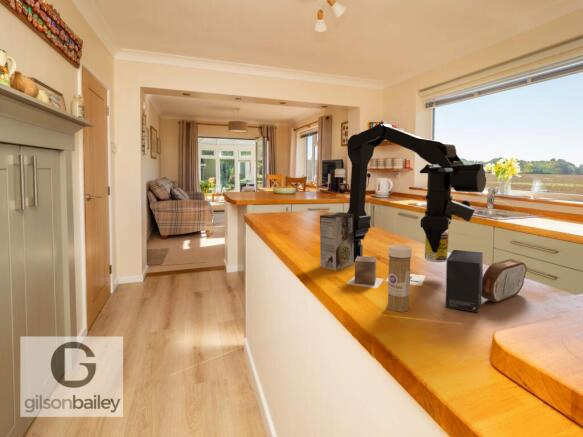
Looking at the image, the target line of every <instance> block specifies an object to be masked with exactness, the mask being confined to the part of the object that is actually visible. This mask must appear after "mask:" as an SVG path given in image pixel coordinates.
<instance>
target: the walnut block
mask: <svg viewBox="0 0 583 437" xmlns="http://www.w3.org/2000/svg"><path fill="white" fill-rule="evenodd" d="M354 276H355V284H366V285H375V281H376V278H377V257H375V256H357V258H356V260H355V261H354Z"/></svg>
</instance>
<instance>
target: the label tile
mask: <svg viewBox="0 0 583 437" xmlns="http://www.w3.org/2000/svg"><path fill="white" fill-rule="evenodd" d="M425 279H426V275H423V274H414V273H410V286H418V287H419V286H420V287H421V286H423V283H424V281H425ZM384 281H385V282H388V277H387V278H386V279H384Z"/></svg>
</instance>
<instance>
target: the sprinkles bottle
mask: <svg viewBox="0 0 583 437" xmlns="http://www.w3.org/2000/svg"><path fill="white" fill-rule="evenodd" d="M387 252H388V277H387V278H388V281H387V304H386V307H387V309H388V310H390V311H393V312H396V313H397V312H399V313H403V312H407V311H409V309H410V290H411V289H410V286H411V284H410V274H411V258H412V247H411V246H410V245H406V244H398V243H397V244H391V245H389V246H388V251H387Z"/></svg>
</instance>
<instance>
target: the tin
mask: <svg viewBox="0 0 583 437" xmlns="http://www.w3.org/2000/svg"><path fill="white" fill-rule="evenodd" d="M526 274H527V265H526V264H525V263H524V262H522V261H520V260H518V259H517V260H516V259H514V258H509V259H504V260H501V261H496V262H493V263H491V264H490V265H489V266H488V267H487V269H486V270H485V271H484V273H483V278H482V297H481V298H482V299H486V300H488V301H491V302H494V303H499V302H502V301H504V300H507V299H510V298H513V297H515V296H517V294H519V293H520V291H521V290H522V288H523V286H524V283H525V278H526Z"/></svg>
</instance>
